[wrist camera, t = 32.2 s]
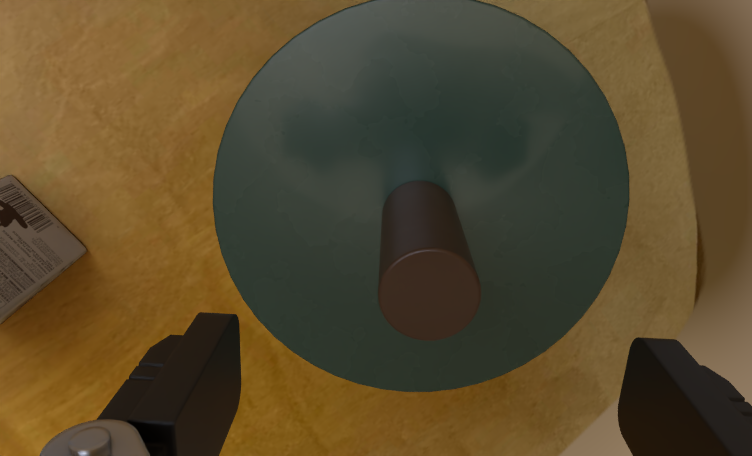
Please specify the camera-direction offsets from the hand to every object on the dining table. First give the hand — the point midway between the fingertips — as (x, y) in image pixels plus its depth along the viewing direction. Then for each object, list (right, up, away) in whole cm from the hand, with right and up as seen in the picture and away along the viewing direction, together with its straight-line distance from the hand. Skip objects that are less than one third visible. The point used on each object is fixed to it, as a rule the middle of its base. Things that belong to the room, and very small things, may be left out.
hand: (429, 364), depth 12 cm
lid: (0, +3, +10) cm, 10 cm away
